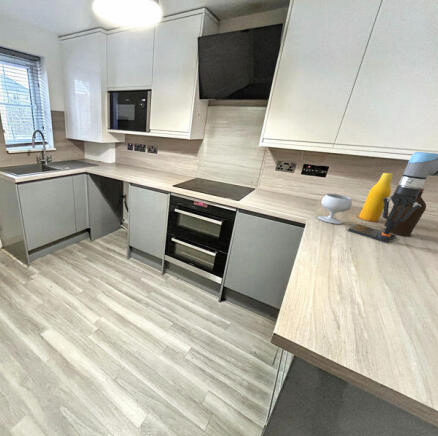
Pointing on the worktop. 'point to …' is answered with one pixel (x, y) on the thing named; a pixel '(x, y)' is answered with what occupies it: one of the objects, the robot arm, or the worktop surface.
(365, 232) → the scale
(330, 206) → the chalice
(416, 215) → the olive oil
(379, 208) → the beer bottle
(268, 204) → the worktop surface
